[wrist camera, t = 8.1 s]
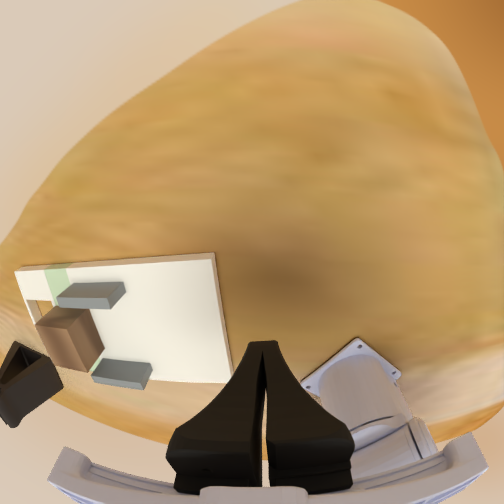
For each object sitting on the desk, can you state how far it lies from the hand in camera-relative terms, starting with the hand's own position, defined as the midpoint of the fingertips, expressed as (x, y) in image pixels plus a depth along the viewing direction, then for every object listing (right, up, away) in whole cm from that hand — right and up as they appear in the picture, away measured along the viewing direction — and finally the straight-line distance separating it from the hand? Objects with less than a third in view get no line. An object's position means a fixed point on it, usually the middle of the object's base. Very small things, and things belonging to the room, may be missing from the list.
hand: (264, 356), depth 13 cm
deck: (-15, -2, +12) cm, 19 cm away
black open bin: (-33, -12, +16) cm, 38 cm away
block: (-18, -3, +10) cm, 21 cm away
